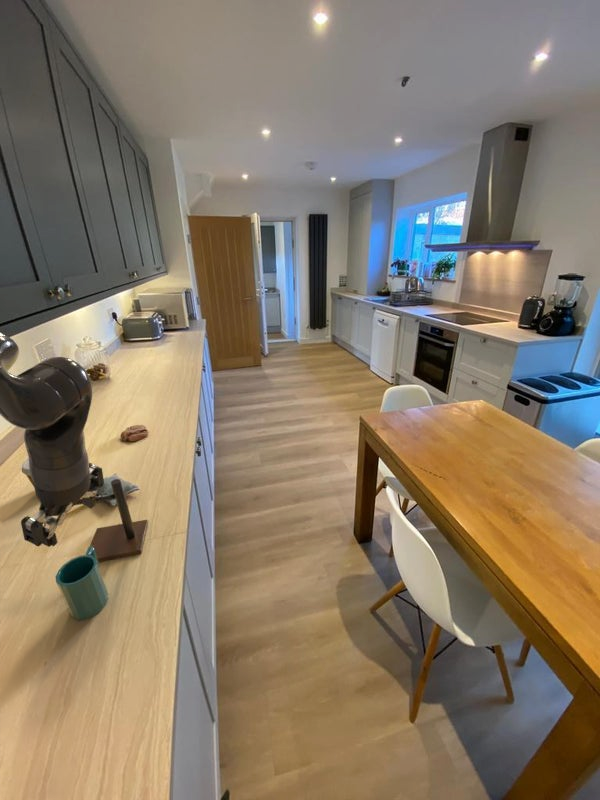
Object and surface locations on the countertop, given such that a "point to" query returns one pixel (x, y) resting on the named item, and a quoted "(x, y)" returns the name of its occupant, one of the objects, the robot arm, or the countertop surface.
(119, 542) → the mug stand
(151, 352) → the countertop surface
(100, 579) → the mug
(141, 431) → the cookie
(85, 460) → the robot arm
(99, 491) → the grey bean bag
